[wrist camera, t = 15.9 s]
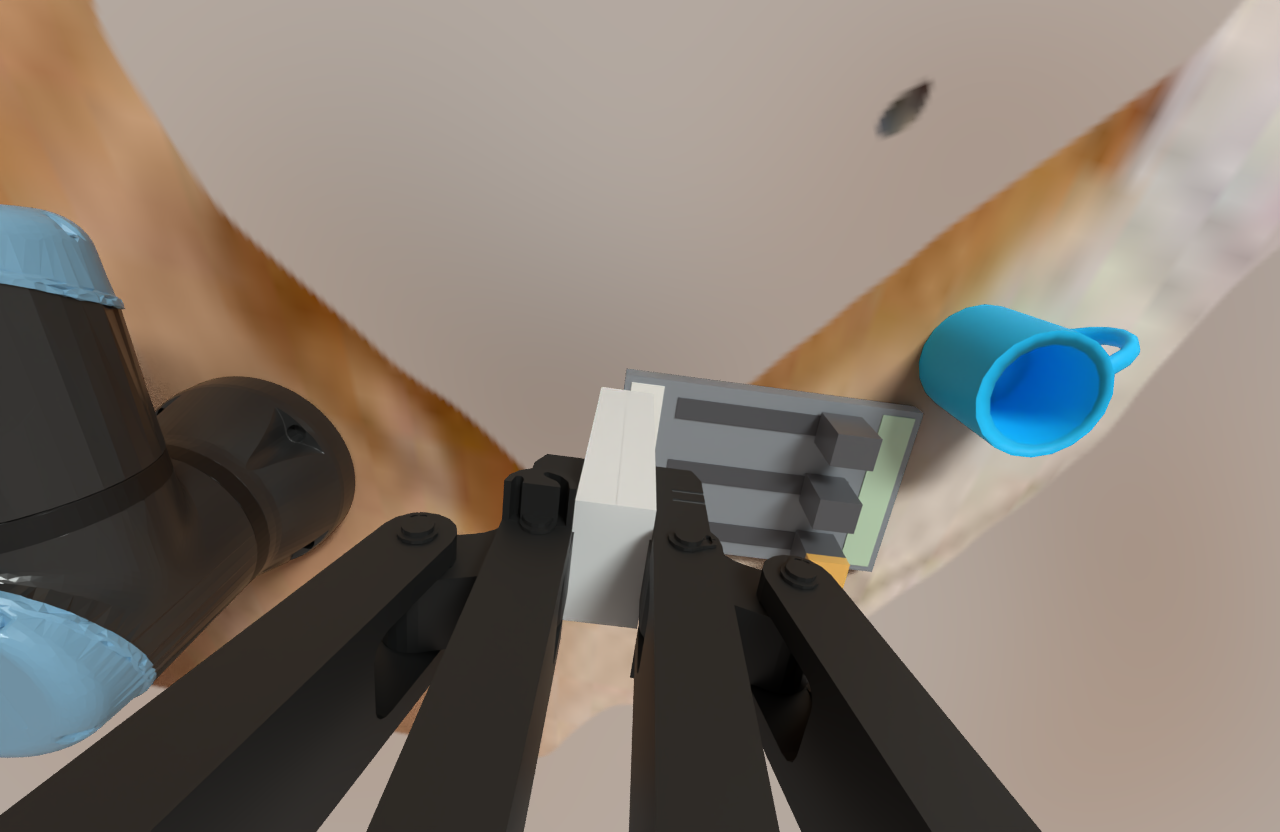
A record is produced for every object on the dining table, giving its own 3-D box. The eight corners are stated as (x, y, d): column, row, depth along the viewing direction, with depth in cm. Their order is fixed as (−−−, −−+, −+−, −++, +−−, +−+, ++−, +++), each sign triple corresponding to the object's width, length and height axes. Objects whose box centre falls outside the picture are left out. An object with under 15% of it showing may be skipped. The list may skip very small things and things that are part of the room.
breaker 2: (798, 500, 46) (812, 529, 42) (805, 472, 45) (820, 499, 41) (836, 505, 46) (853, 534, 42) (844, 477, 45) (862, 504, 41)
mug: (929, 425, 45) (985, 473, 38) (908, 327, 43) (965, 357, 35) (1092, 374, 44) (1185, 413, 36) (1081, 268, 41) (1179, 286, 33)
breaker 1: (814, 441, 44) (829, 466, 40) (821, 412, 43) (838, 433, 39) (853, 446, 44) (873, 471, 40) (862, 417, 43) (882, 439, 39)
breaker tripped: (789, 555, 48) (801, 587, 44) (796, 529, 47) (809, 560, 43) (826, 559, 48) (841, 592, 44) (833, 534, 47) (850, 565, 43)
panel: (605, 529, 49) (604, 540, 48) (626, 368, 44) (625, 374, 43) (865, 560, 50) (872, 572, 48) (915, 406, 45) (924, 413, 43)
